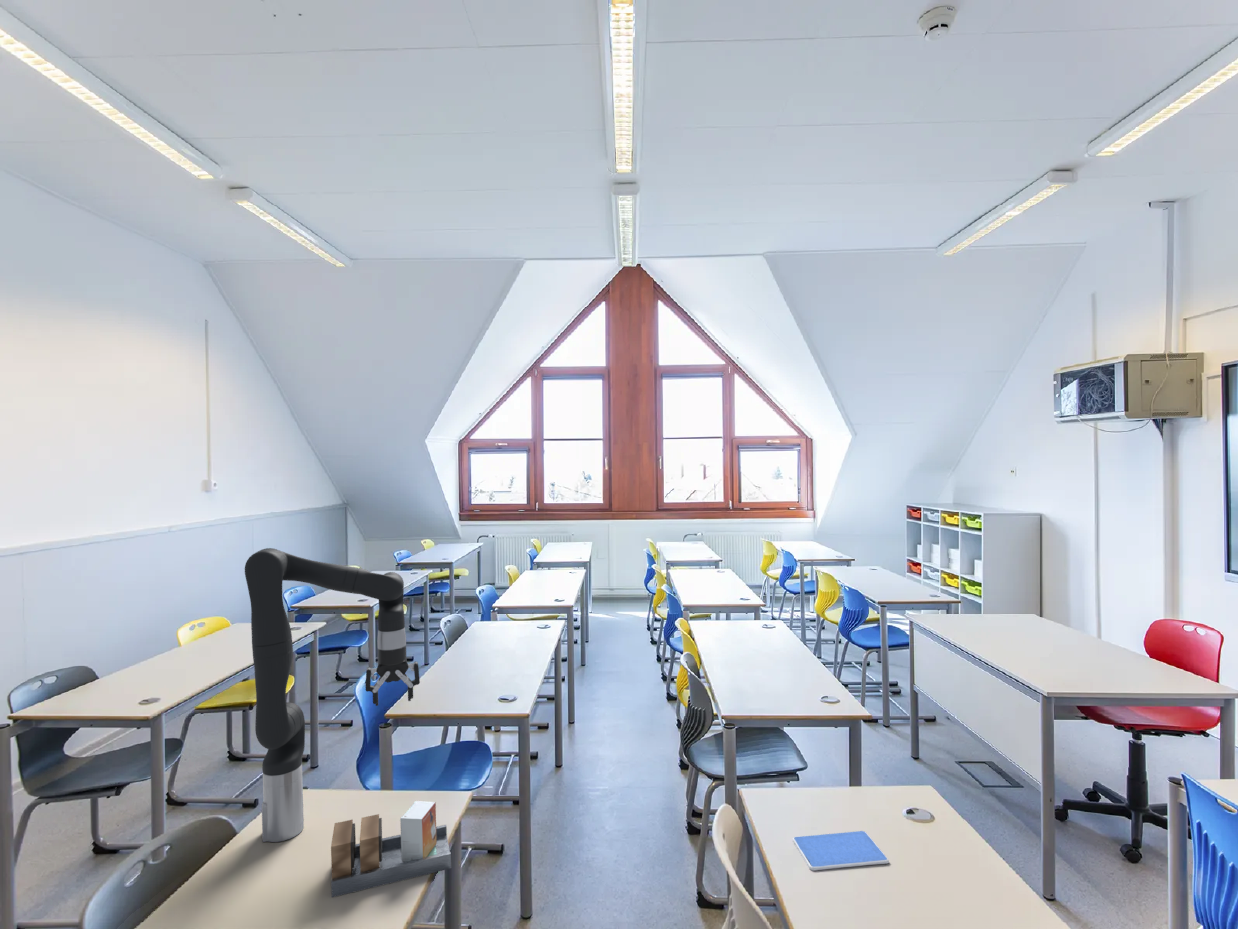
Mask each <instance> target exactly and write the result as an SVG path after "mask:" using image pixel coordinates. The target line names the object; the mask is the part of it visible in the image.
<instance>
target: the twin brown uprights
mask: <svg viewBox="0 0 1238 929" xmlns="http://www.w3.org/2000/svg"><path fill="white" fill-rule="evenodd" d="M382 824H383V820H382V817H380V814H379V813H378V814H373V815H368V816H363V817H361V819H360V830H359V833H360V834H359V843H360V870H361V872H364V871H368V870H373V869H377V868H380V862H381V861H382V838H383V826H382ZM356 844H357V843H356V823H353V819H349V820H343V821H339V822H335V823H334V826H333V832H332V839H331V845H330V855H331V856H330V858H331V859H330V860H331V863H330V864H331V880H332V879H334V878H338V877H343V876H347V875H351V874H352V869H353V868H354V863H355V851H356Z"/></svg>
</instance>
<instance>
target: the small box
mask: <svg viewBox="0 0 1238 929" xmlns="http://www.w3.org/2000/svg"><path fill="white" fill-rule="evenodd" d="M436 803H437V802H435V801H424V800H423V801H421V800H415V801H414V802H413V803H412V804H411V805H410V807H409V808H408V809H407V811H406V812H405V813H404V814H403V815H402V816H401V817H400V820H399V821H400V835H401V859H402V862H407V861H411V860H416V859H420V858H424V857H427V856H428V854H429V853H430V852H431V850H432V849H433V848H434V846H435V845H436V843H437V841H436V827H437V809H436V808H437V806H436Z"/></svg>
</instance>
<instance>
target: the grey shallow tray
mask: <svg viewBox="0 0 1238 929" xmlns="http://www.w3.org/2000/svg"><path fill="white" fill-rule="evenodd" d="M447 830H448V829H447V824H443V825H438V826H437V825H436V841H437V843H436V845H435V846H434V848H433V849H432V850H431V852H430V853H429V854H428V856H427V857H424V858H420V859H416V860H411V861H407V862H402V859H401V834H397V835H391V836H388V837H387V836H386V837H382V861H381V862H380V868H377V869H373V870H368V871H364V872H361V870H360V842H359V843H356V851H355V863H354V868H353V869H352V874H351V875H347V876H343V877H338V878H334V879H332V878H331V898H334V897H339V896H343V895H348V894H351V893H355V892H359V891H363V890H368V889H372V888H376V887H380V886H384V885H388V884H389V885H390V884H393V883H397V882H401V881H405V880H408V879H414V878H418V877H423V876H426V875H429V874H430V875H431V874H433V873H438V872H441V871H446V870H450V869H452V853H451V851H450V847H449V840H448V833H447V832H448V831H447ZM437 871H438V872H437Z"/></svg>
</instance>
